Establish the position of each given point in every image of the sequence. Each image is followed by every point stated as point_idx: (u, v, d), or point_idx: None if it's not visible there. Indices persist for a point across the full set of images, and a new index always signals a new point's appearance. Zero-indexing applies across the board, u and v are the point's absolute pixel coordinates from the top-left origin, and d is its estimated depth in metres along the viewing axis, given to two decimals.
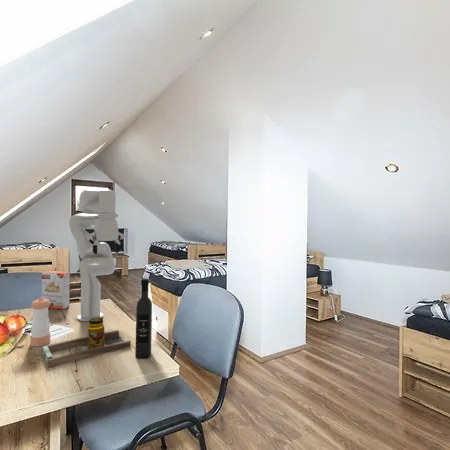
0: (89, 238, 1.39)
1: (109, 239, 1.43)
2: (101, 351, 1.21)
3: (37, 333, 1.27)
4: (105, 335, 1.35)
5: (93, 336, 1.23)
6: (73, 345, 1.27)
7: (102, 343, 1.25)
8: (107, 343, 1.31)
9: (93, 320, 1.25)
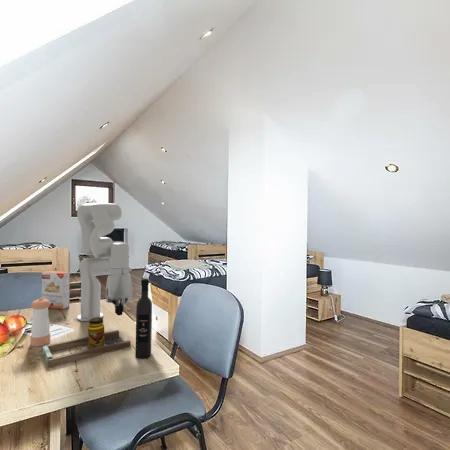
0: (110, 301, 1.29)
1: (122, 296, 1.31)
2: (101, 351, 1.21)
3: (37, 333, 1.27)
4: (105, 335, 1.35)
5: (93, 336, 1.23)
6: (73, 345, 1.27)
7: (102, 343, 1.25)
8: (107, 343, 1.31)
9: (93, 320, 1.25)
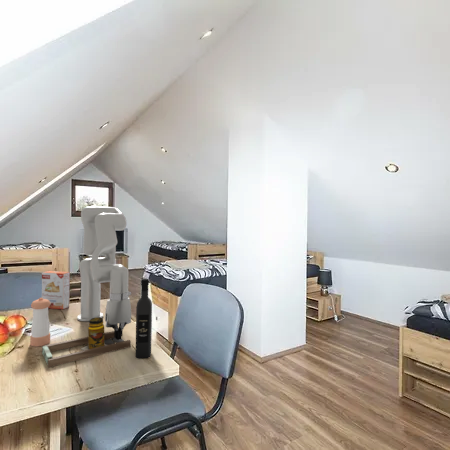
0: (109, 326, 1.30)
1: (122, 321, 1.32)
2: (101, 351, 1.21)
3: (37, 333, 1.27)
4: (105, 335, 1.35)
5: (93, 336, 1.23)
6: (73, 345, 1.27)
7: (102, 343, 1.25)
8: (107, 343, 1.31)
9: (93, 320, 1.25)
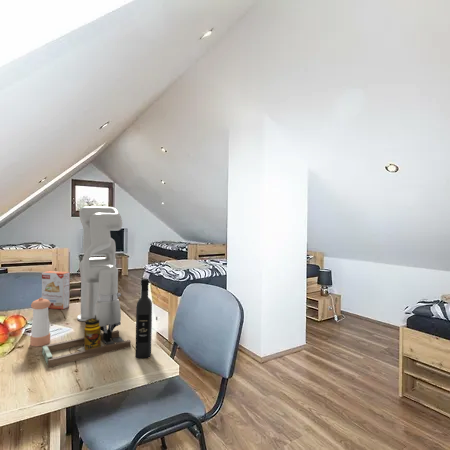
0: None
1: (111, 323, 1.28)
2: (101, 351, 1.21)
3: (37, 333, 1.27)
4: None
5: (89, 337, 1.22)
6: (73, 345, 1.27)
7: (98, 344, 1.24)
8: (107, 343, 1.31)
9: (89, 321, 1.24)
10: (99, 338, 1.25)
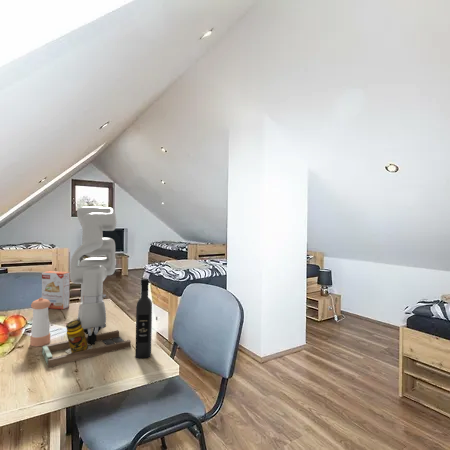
0: None
1: (95, 325, 1.24)
2: (101, 351, 1.21)
3: (37, 333, 1.27)
4: (105, 335, 1.35)
5: (71, 340, 1.18)
6: None
7: (82, 346, 1.20)
8: (107, 343, 1.31)
9: (70, 324, 1.19)
10: (83, 340, 1.21)
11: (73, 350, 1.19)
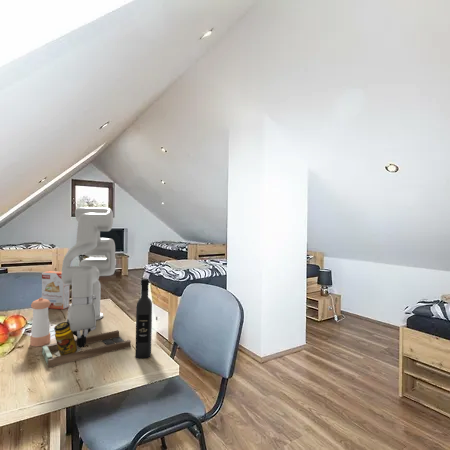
0: None
1: (85, 327, 1.22)
2: (101, 351, 1.21)
3: (37, 333, 1.27)
4: (105, 335, 1.35)
5: (59, 343, 1.16)
6: None
7: (70, 349, 1.18)
8: (107, 343, 1.31)
9: (58, 326, 1.17)
10: (71, 343, 1.18)
11: (61, 352, 1.17)
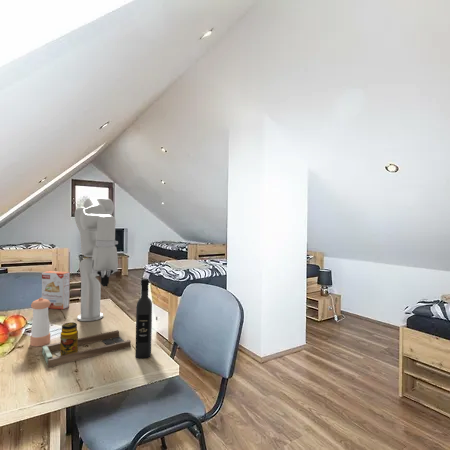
0: (96, 272, 1.33)
1: (108, 268, 1.34)
2: (101, 351, 1.21)
3: (37, 333, 1.27)
4: (105, 335, 1.35)
5: (63, 342, 1.17)
6: None
7: (72, 350, 1.18)
8: (107, 343, 1.31)
9: (66, 325, 1.19)
10: (75, 344, 1.19)
11: (62, 352, 1.17)
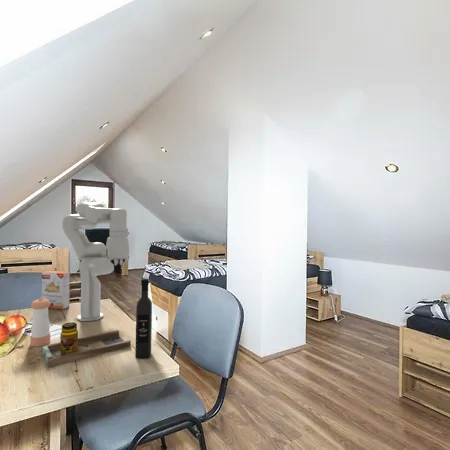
0: (109, 260, 1.44)
1: (120, 257, 1.45)
2: (101, 351, 1.21)
3: (37, 333, 1.27)
4: (105, 335, 1.35)
5: (63, 342, 1.17)
6: None
7: (72, 350, 1.18)
8: (107, 343, 1.31)
9: (66, 325, 1.19)
10: (75, 344, 1.19)
11: (62, 352, 1.17)
